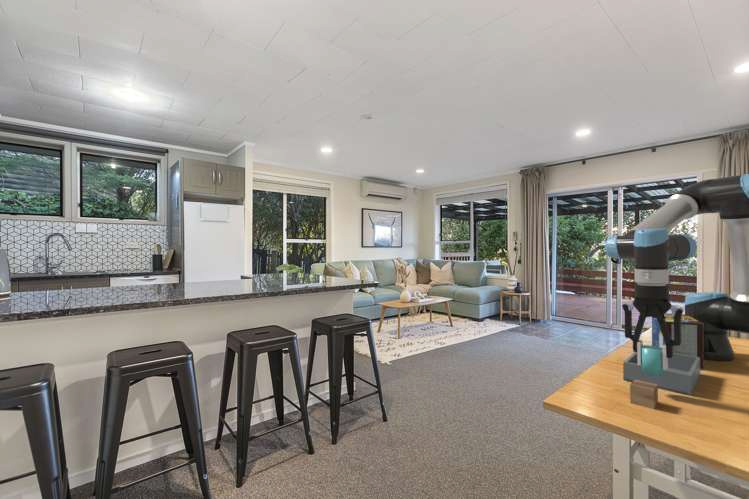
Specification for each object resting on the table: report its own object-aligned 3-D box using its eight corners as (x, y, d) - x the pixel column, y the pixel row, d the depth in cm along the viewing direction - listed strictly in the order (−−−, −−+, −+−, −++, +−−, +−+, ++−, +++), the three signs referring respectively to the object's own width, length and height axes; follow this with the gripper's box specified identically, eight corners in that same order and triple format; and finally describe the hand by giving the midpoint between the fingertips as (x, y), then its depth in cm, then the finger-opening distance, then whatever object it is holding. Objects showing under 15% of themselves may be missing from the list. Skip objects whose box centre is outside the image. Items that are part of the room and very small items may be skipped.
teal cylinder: (652, 368, 102) (652, 344, 102) (668, 375, 97) (668, 350, 97) (636, 370, 101) (636, 346, 101) (652, 376, 96) (652, 351, 96)
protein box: (686, 355, 130) (686, 314, 130) (703, 369, 116) (704, 323, 116) (651, 352, 135) (651, 312, 134) (664, 365, 121) (664, 320, 120)
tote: (639, 363, 123) (639, 347, 123) (700, 375, 112) (700, 357, 112) (623, 380, 109) (623, 362, 109) (690, 395, 97) (690, 375, 97)
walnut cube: (634, 397, 97) (634, 379, 97) (657, 403, 93) (657, 384, 93) (630, 403, 94) (630, 384, 94) (653, 409, 90) (653, 390, 90)
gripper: (609, 283, 103) (611, 362, 103) (692, 288, 89) (693, 378, 90) (617, 280, 108) (618, 355, 108) (696, 284, 94) (697, 370, 95)
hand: (652, 366), depth 99 cm, fingers closed on teal cylinder, 5 cm apart
